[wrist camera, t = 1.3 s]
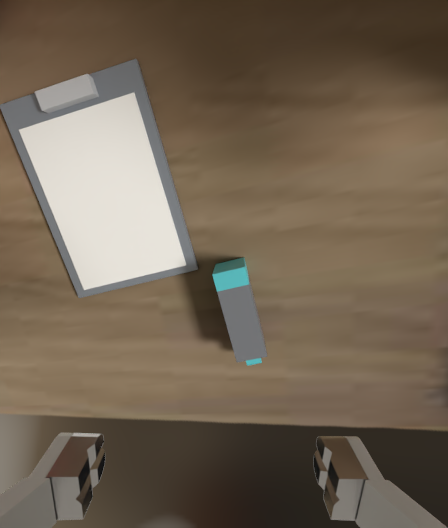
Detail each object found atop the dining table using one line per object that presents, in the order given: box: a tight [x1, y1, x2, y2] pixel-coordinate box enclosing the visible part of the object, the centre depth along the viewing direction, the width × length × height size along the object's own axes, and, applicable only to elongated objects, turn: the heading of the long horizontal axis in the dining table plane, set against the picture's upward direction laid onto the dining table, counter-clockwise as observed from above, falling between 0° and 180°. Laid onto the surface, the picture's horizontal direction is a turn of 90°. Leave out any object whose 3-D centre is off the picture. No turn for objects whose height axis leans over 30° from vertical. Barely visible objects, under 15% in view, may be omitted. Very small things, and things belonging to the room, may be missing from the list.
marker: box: [212, 257, 267, 365], centre depth 31 cm, size 13×4×4 cm, turn 15°
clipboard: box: [0, 59, 198, 298], centre depth 30 cm, size 16×23×2 cm
